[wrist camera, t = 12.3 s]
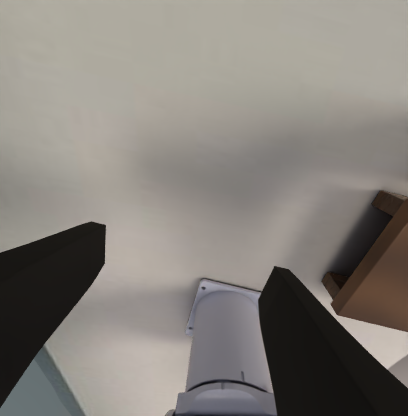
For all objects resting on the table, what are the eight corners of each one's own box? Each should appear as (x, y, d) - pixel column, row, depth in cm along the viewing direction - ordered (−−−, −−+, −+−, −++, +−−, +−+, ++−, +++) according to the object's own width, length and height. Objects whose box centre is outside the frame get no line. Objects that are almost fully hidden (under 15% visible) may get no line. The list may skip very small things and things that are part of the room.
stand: (387, 299, 21) (422, 335, 18) (316, 281, 21) (336, 315, 17) (466, 209, 17) (534, 233, 13) (377, 186, 17) (421, 204, 13)
